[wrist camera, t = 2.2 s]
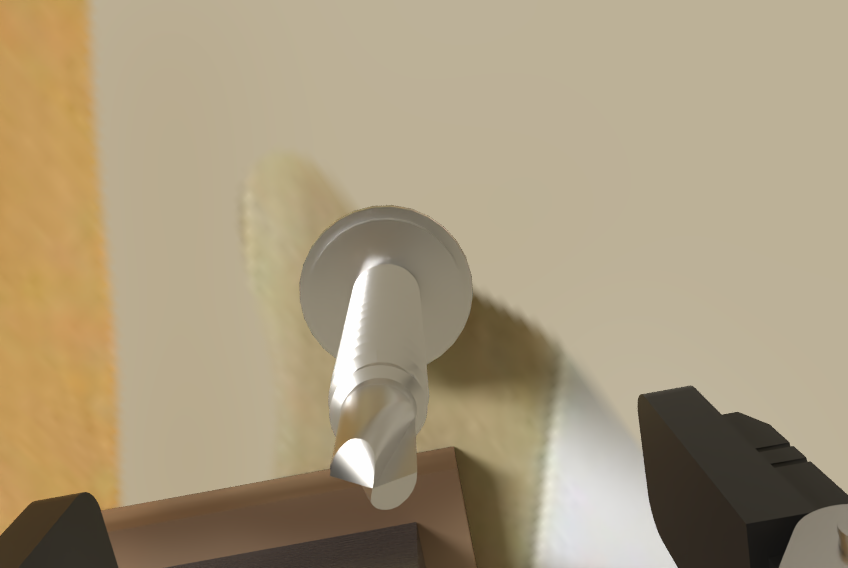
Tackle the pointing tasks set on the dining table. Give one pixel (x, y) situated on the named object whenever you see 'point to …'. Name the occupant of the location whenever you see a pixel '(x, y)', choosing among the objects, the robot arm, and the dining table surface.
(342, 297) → the screw
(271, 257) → the dining table surface
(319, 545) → the socket
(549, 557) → the dining table surface
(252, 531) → the walnut board
